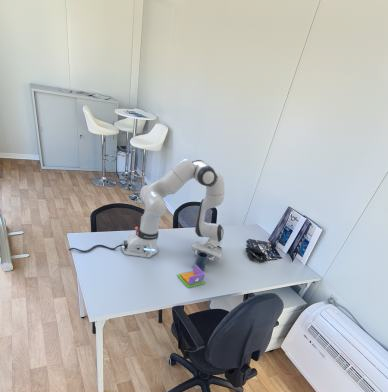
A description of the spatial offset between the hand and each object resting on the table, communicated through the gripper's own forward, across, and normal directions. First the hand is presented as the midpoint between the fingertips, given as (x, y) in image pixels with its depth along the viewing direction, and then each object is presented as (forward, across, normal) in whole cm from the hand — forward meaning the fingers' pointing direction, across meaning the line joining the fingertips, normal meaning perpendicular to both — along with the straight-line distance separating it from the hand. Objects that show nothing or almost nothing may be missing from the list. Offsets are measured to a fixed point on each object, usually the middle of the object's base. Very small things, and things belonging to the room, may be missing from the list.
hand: (202, 257), depth 178 cm
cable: (-40, +28, +8) cm, 49 cm away
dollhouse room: (+16, 0, +8) cm, 18 cm away
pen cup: (+2, 0, +7) cm, 8 cm away
